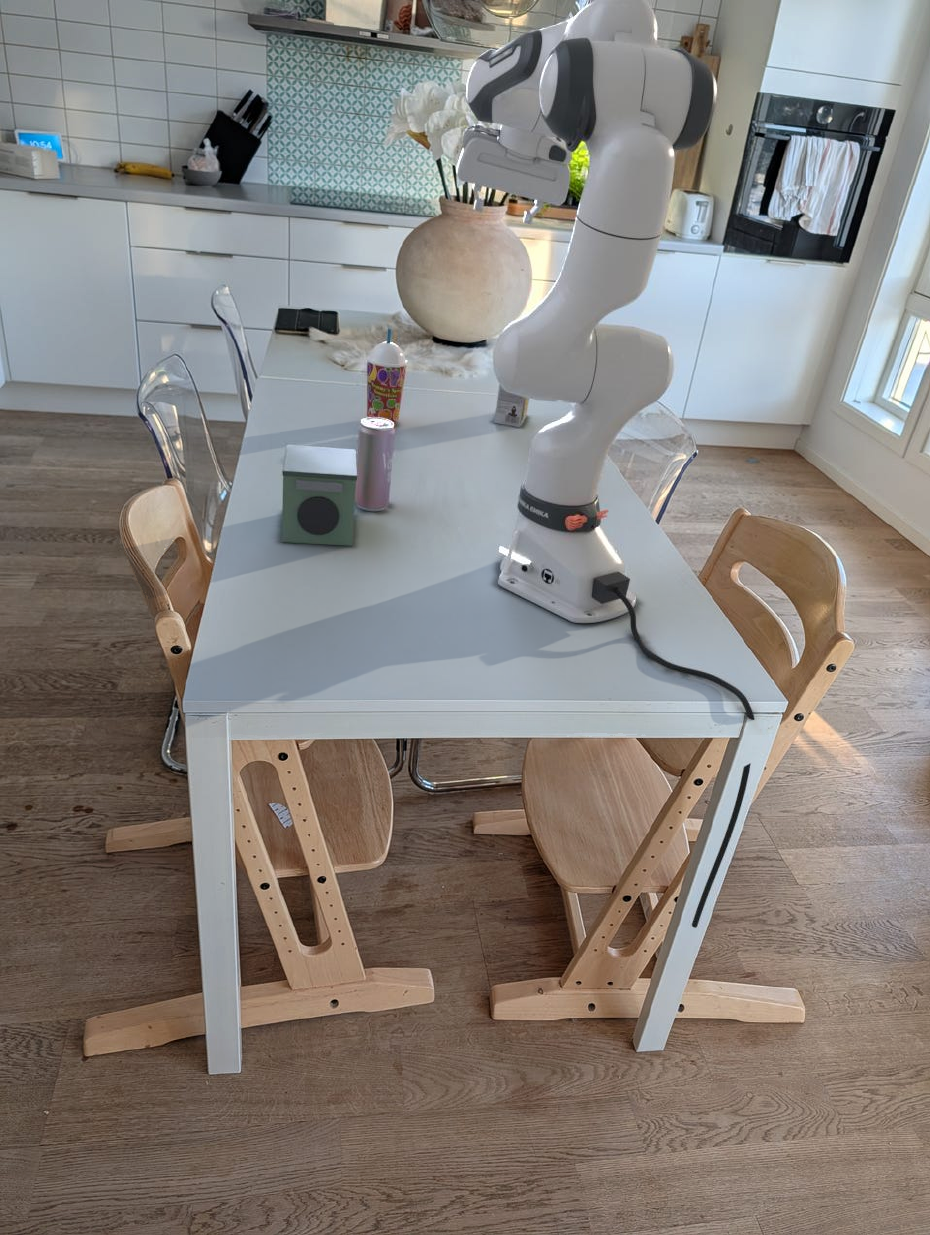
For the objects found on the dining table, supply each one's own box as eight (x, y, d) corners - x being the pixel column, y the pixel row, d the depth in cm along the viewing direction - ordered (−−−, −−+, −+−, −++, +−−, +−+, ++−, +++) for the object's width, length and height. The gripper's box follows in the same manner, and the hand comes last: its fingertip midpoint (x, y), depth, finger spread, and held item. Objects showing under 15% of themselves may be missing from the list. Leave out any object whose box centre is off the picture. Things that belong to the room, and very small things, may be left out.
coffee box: (500, 411, 213) (510, 342, 205) (526, 416, 213) (537, 347, 205) (493, 423, 206) (503, 351, 198) (521, 428, 205) (532, 356, 197)
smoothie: (366, 429, 192) (373, 333, 182) (359, 416, 199) (365, 322, 189) (405, 430, 195) (414, 335, 185) (396, 416, 201) (404, 324, 191)
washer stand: (352, 547, 145) (357, 477, 138) (280, 543, 143) (282, 472, 137) (352, 516, 154) (356, 449, 148) (284, 512, 153) (286, 444, 147)
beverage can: (367, 495, 163) (373, 414, 155) (395, 505, 160) (402, 423, 153) (347, 505, 158) (352, 421, 151) (375, 515, 156) (381, 431, 148)
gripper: (467, 126, 154) (447, 208, 163) (581, 157, 158) (556, 236, 167) (465, 115, 159) (447, 196, 168) (576, 146, 163) (552, 223, 172)
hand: (502, 216), depth 168 cm, fingers open, 8 cm apart
